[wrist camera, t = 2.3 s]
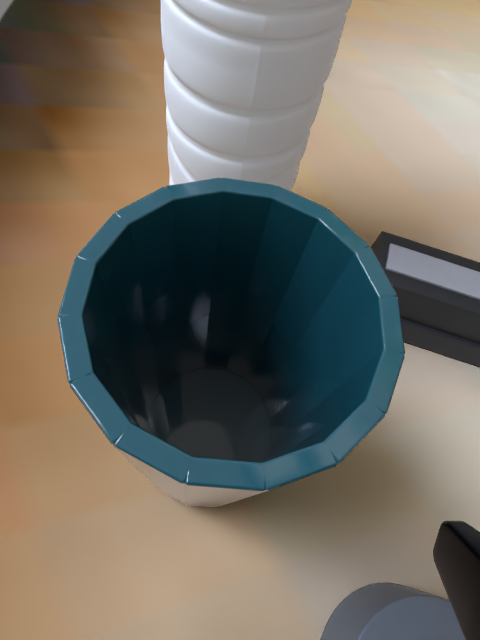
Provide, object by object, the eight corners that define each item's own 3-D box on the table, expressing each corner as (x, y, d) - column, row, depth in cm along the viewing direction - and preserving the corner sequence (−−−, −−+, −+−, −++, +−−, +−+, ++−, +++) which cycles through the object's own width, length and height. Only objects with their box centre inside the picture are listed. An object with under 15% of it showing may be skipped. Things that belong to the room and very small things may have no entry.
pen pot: (296, 477, 19) (466, 418, 7) (156, 529, 17) (96, 554, 6) (249, 351, 22) (323, 159, 10) (124, 385, 20) (38, 205, 8)
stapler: (514, 322, 25) (576, 286, 21) (515, 379, 23) (583, 351, 19) (351, 269, 25) (382, 223, 21) (340, 321, 23) (371, 281, 19)
